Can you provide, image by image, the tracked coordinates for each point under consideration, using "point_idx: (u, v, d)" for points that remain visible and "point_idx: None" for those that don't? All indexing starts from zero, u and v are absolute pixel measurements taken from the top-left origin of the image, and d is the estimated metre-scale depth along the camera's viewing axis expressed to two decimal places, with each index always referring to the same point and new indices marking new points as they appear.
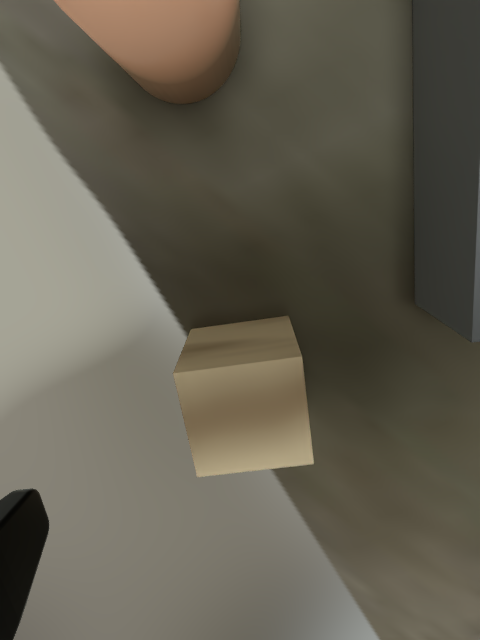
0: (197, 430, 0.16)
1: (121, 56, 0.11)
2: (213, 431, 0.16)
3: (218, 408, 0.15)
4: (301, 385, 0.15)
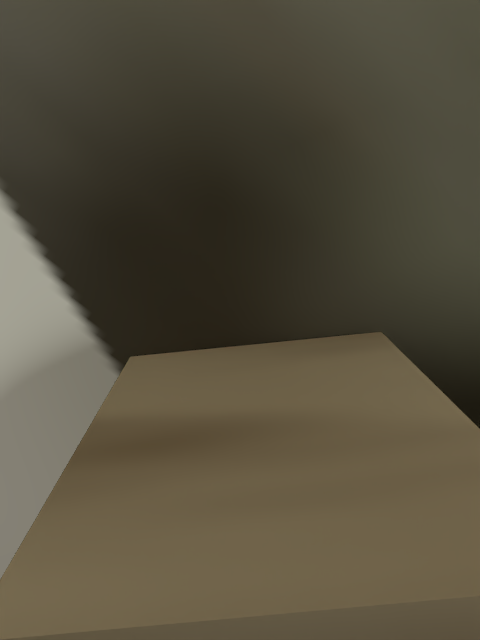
0: None
1: None
2: None
3: None
4: None
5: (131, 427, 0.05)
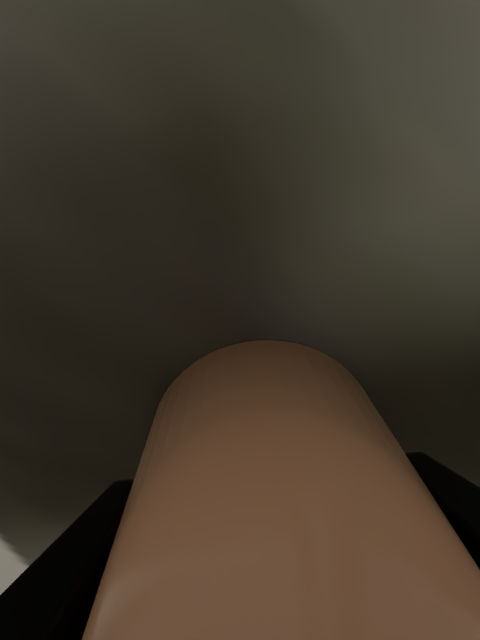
0: None
1: None
2: None
3: None
4: None
5: None
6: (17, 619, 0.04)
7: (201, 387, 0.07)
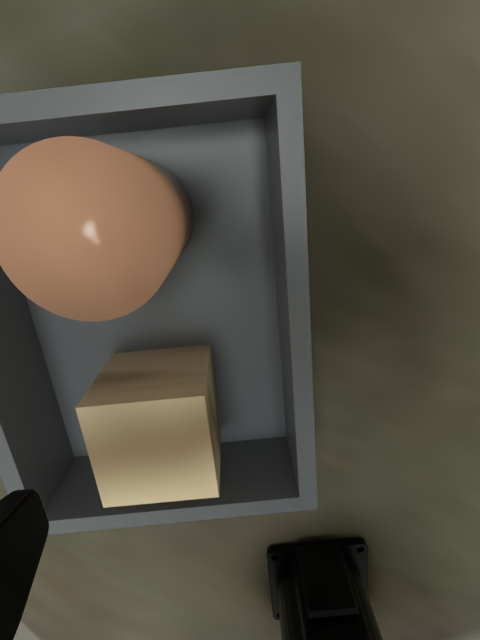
0: (102, 463, 0.16)
1: None
2: (118, 464, 0.16)
3: (123, 442, 0.15)
4: (205, 423, 0.15)
5: (111, 374, 0.17)
6: None
7: None
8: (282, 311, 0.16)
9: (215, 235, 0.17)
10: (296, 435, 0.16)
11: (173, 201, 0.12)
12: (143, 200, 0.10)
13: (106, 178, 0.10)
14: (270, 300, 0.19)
